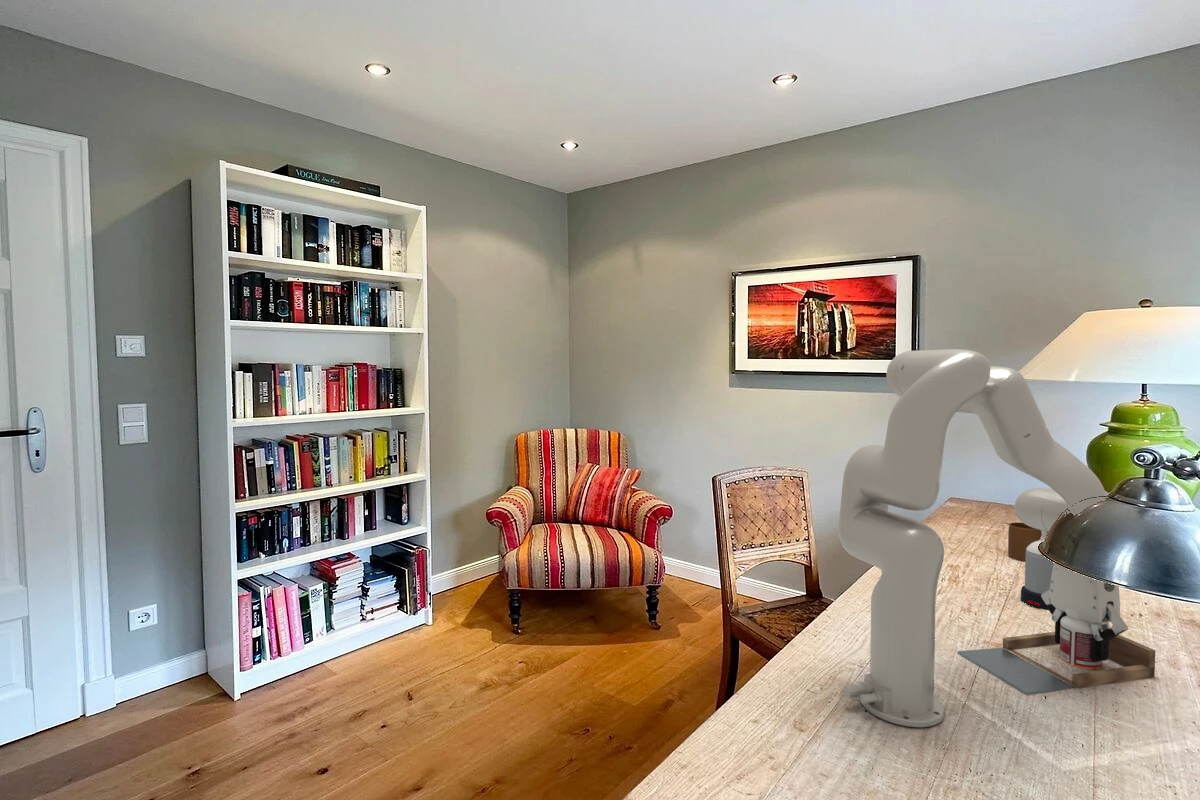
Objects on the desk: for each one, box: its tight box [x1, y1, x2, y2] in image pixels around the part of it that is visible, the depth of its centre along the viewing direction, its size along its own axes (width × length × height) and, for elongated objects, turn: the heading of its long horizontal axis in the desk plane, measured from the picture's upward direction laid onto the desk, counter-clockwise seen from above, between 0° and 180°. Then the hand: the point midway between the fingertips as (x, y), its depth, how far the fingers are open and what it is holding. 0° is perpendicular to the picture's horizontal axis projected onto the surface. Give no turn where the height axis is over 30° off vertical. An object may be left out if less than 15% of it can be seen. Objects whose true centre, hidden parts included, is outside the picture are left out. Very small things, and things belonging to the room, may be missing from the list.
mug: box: [1007, 521, 1047, 562], centre depth 173 cm, size 12×8×9 cm, turn 54°
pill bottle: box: [1059, 608, 1103, 670], centre depth 114 cm, size 6×6×11 cm
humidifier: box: [1020, 530, 1054, 611], centre depth 142 cm, size 8×8×25 cm
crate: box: [1002, 631, 1157, 689], centre depth 114 cm, size 16×15×6 cm
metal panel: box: [957, 647, 1077, 696], centre depth 111 cm, size 1×15×10 cm
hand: (1080, 650), depth 114 cm, fingers closed on pill bottle, 6 cm apart
